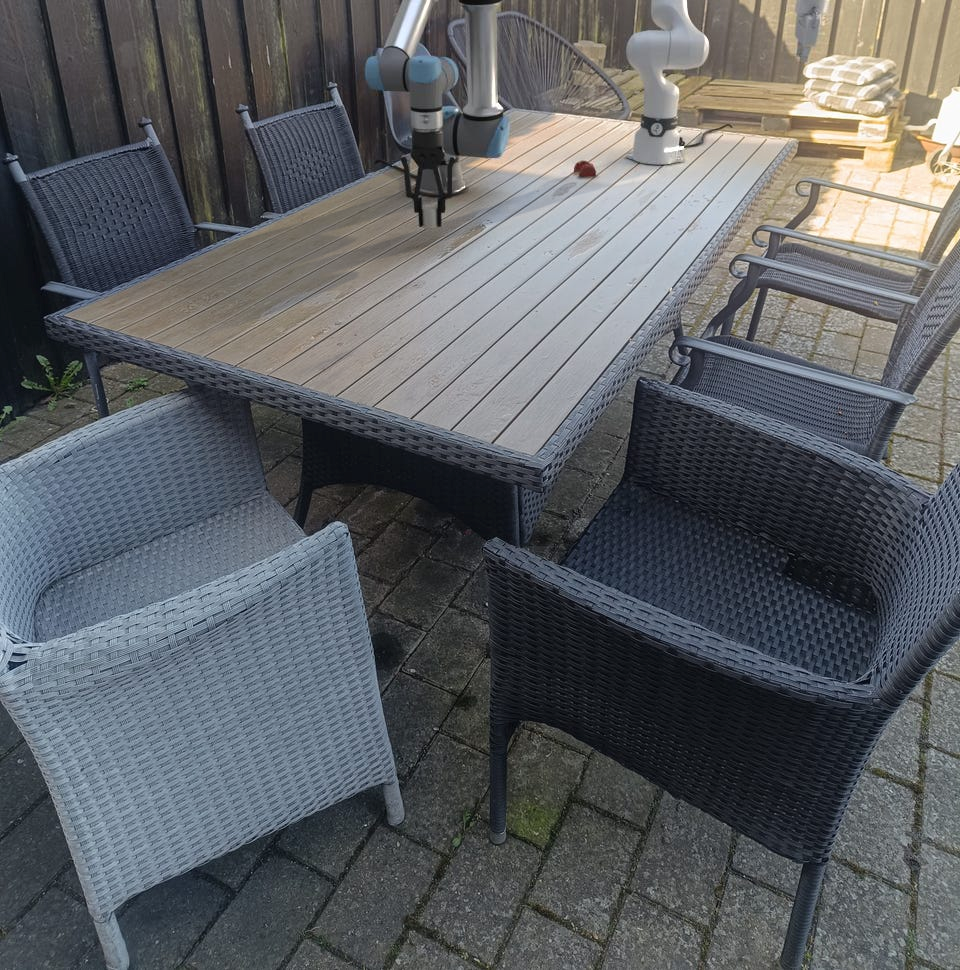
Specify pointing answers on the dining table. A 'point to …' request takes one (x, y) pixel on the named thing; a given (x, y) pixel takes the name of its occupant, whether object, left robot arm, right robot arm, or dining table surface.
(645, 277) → the dining table surface
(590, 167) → the dark red lumpy piece
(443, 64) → the left robot arm
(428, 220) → the can
